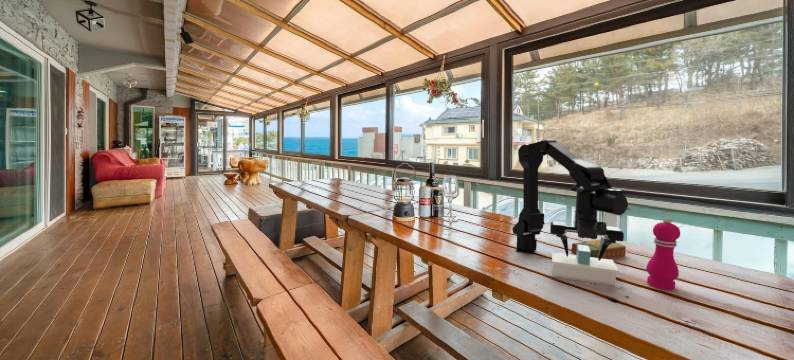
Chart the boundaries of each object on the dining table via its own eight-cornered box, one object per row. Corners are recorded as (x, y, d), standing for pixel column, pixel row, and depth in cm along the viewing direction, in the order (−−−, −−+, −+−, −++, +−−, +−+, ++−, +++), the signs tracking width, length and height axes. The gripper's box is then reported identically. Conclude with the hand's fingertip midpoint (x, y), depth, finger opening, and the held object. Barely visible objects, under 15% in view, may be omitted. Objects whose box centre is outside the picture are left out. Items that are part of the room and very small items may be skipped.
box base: (552, 276, 100) (553, 264, 99) (552, 267, 107) (553, 255, 106) (615, 286, 93) (616, 272, 92) (610, 275, 100) (611, 263, 100)
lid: (552, 264, 99) (553, 248, 98) (551, 254, 107) (552, 240, 106) (618, 273, 92) (619, 256, 91) (612, 262, 100) (613, 247, 99)
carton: (625, 257, 117) (626, 245, 116) (589, 261, 112) (590, 249, 112) (605, 249, 125) (606, 238, 124) (570, 253, 120) (571, 242, 120)
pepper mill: (679, 293, 89) (687, 221, 86) (646, 287, 92) (653, 218, 90) (674, 283, 95) (682, 216, 92) (643, 278, 98) (649, 213, 96)
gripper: (552, 210, 94) (549, 262, 96) (630, 216, 86) (625, 273, 88) (551, 203, 104) (548, 250, 106) (621, 208, 96) (617, 259, 98)
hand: (582, 258), depth 99 cm, fingers open, 8 cm apart
